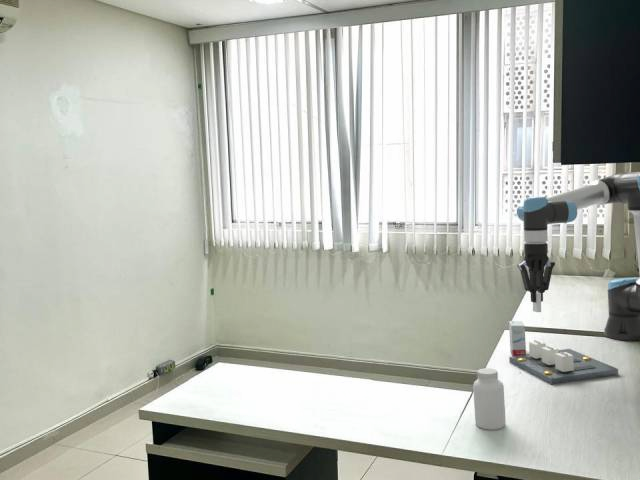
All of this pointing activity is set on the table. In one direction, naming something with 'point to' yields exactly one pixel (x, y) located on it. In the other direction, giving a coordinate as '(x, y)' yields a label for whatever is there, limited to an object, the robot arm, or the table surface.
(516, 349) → the ink box
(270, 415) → the table surface
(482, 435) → the table surface
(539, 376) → the switch unit
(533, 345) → the slider
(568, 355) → the slider
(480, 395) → the pill bottle
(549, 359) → the slider
